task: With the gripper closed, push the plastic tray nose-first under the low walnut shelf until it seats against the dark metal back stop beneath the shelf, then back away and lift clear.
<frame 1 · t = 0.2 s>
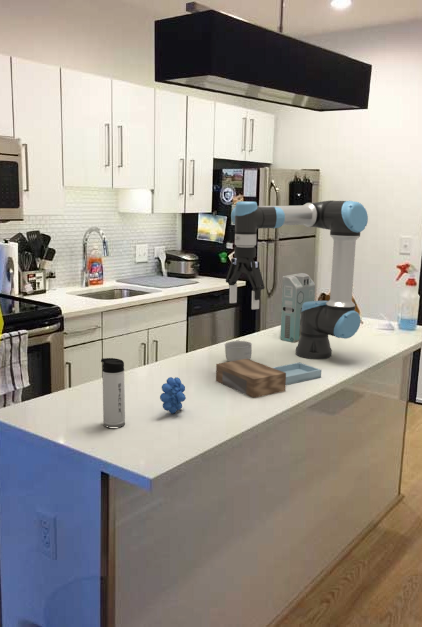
hand: (243, 305, 222), 28 cm above the countertop, tool pointing down, fingers open, 13 cm apart
grapes: (175, 414, 193), on the countertop
teacup: (238, 362, 253), on the countertop
shelf: (249, 385, 221), on the countertop
travel mug: (113, 425, 183), on the countertop
device: (296, 338, 294), on the countertop
tray: (290, 377, 232), on the countertop
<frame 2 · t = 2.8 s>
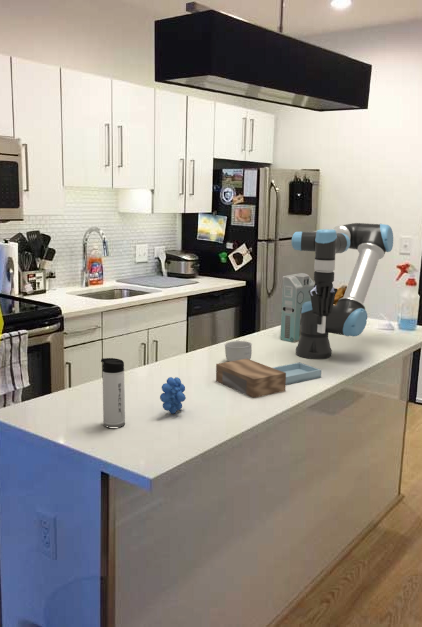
hand: (321, 332, 237), 15 cm above the countertop, tool pointing down, fingers closed
nothing on the countertop moved.
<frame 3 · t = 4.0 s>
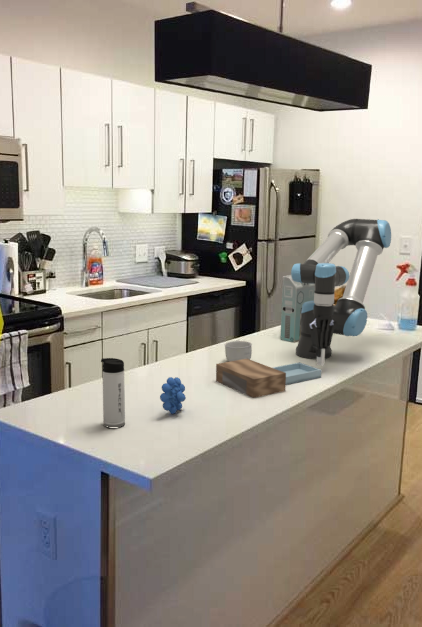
hand: (320, 364, 240), 3 cm above the countertop, tool pointing down, fingers closed
nothing on the countertop moved.
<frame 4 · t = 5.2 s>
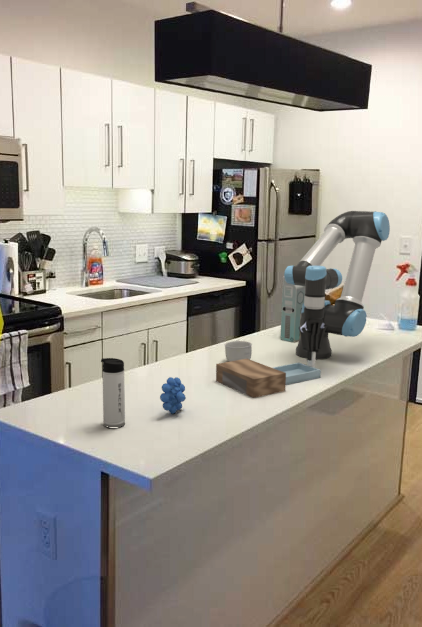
hand: (311, 368, 237), 2 cm above the countertop, tool pointing down, fingers closed
tray: (289, 377, 232), on the countertop, touching gripper
everything else where it was.
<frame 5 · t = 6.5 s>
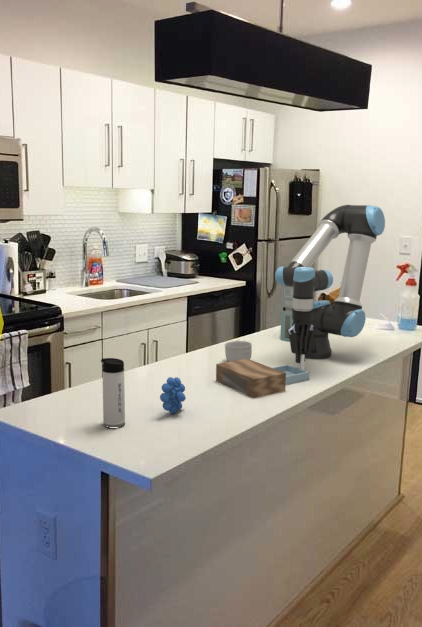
hand: (300, 370, 234), 2 cm above the countertop, tool pointing down, fingers closed
tray: (277, 380, 229), on the countertop, touching gripper
everything else where it was.
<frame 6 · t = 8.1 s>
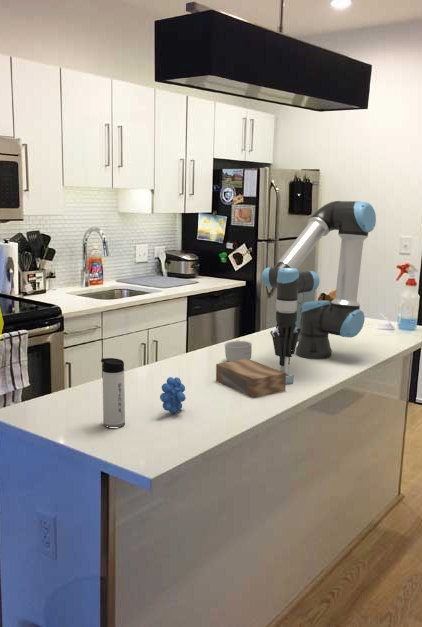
hand: (284, 373, 230), 2 cm above the countertop, tool pointing down, fingers closed
tray: (261, 383, 224), on the countertop, touching gripper
everything else where it was.
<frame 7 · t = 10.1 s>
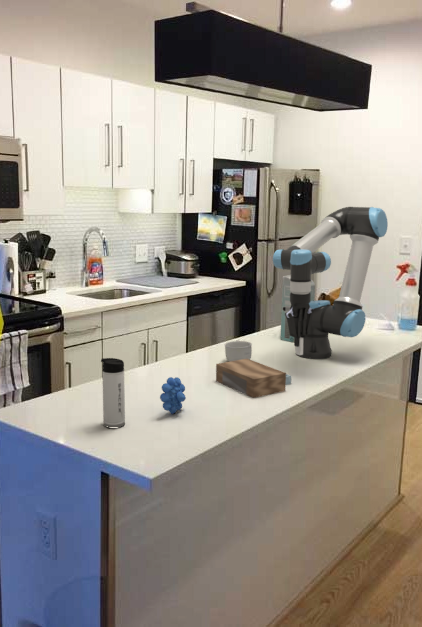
hand: (299, 354, 233), 8 cm above the countertop, tool pointing down, fingers closed
tray: (258, 384, 224), on the countertop
everything else where it was.
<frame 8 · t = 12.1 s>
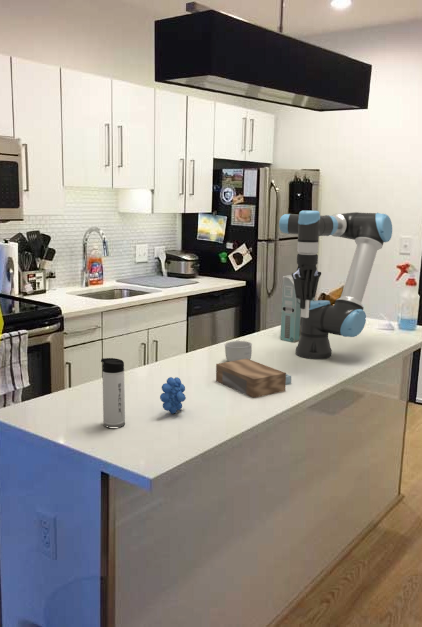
hand: (304, 317, 231), 22 cm above the countertop, tool pointing down, fingers closed
nothing on the countertop moved.
at the end: tray 0.3 cm from the target spot on the shelf, point 0.0 cm above the shelf's base; tray tilted 0°; the gripper is holding nothing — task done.
